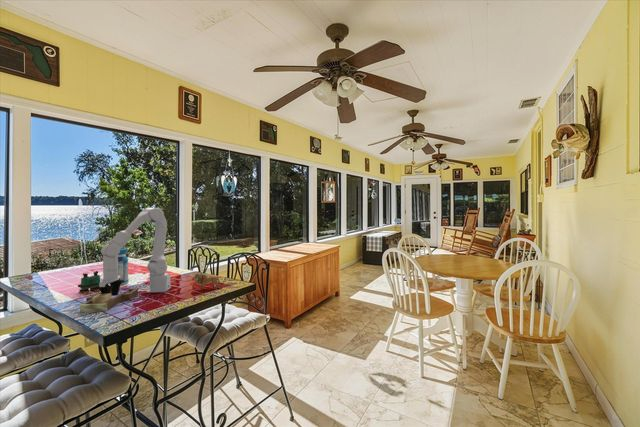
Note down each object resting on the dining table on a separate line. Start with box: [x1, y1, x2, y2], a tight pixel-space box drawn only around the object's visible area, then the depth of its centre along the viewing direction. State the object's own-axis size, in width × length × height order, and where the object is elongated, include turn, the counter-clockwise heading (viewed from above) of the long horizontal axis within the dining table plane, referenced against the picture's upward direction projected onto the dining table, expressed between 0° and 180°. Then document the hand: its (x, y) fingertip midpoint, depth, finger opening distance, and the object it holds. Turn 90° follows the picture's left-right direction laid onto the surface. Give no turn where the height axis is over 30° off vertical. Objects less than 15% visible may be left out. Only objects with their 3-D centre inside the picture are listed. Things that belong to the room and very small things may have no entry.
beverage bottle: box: [118, 247, 130, 286], centre depth 166 cm, size 8×8×20 cm
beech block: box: [93, 293, 112, 304], centre depth 131 cm, size 5×5×5 cm
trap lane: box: [79, 286, 139, 313], centre depth 137 cm, size 16×26×3 cm, turn 9°
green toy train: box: [77, 270, 101, 295], centre depth 151 cm, size 9×11×10 cm
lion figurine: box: [193, 272, 223, 290], centre depth 159 cm, size 15×5×9 cm, turn 114°
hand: (111, 297), depth 138 cm, fingers open, 6 cm apart
